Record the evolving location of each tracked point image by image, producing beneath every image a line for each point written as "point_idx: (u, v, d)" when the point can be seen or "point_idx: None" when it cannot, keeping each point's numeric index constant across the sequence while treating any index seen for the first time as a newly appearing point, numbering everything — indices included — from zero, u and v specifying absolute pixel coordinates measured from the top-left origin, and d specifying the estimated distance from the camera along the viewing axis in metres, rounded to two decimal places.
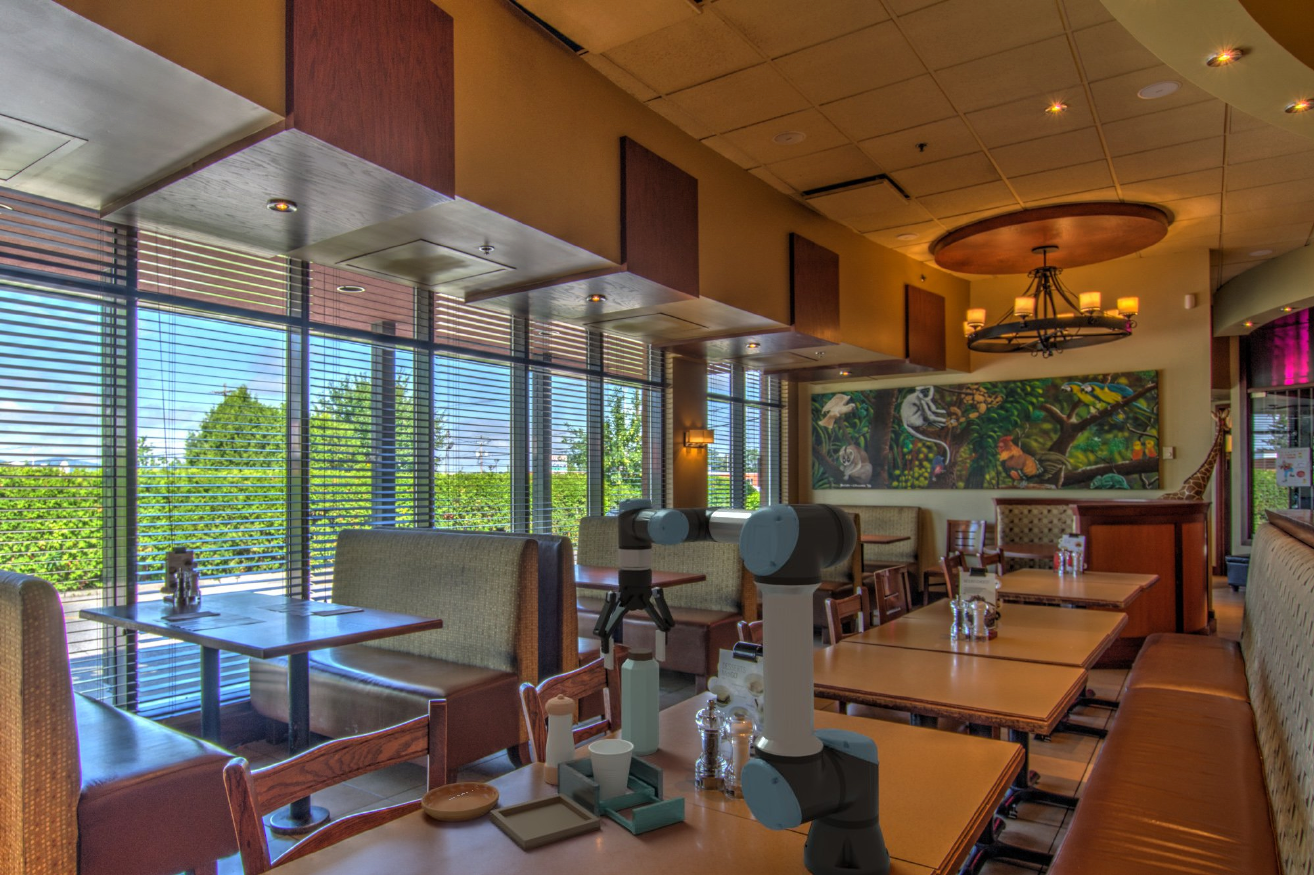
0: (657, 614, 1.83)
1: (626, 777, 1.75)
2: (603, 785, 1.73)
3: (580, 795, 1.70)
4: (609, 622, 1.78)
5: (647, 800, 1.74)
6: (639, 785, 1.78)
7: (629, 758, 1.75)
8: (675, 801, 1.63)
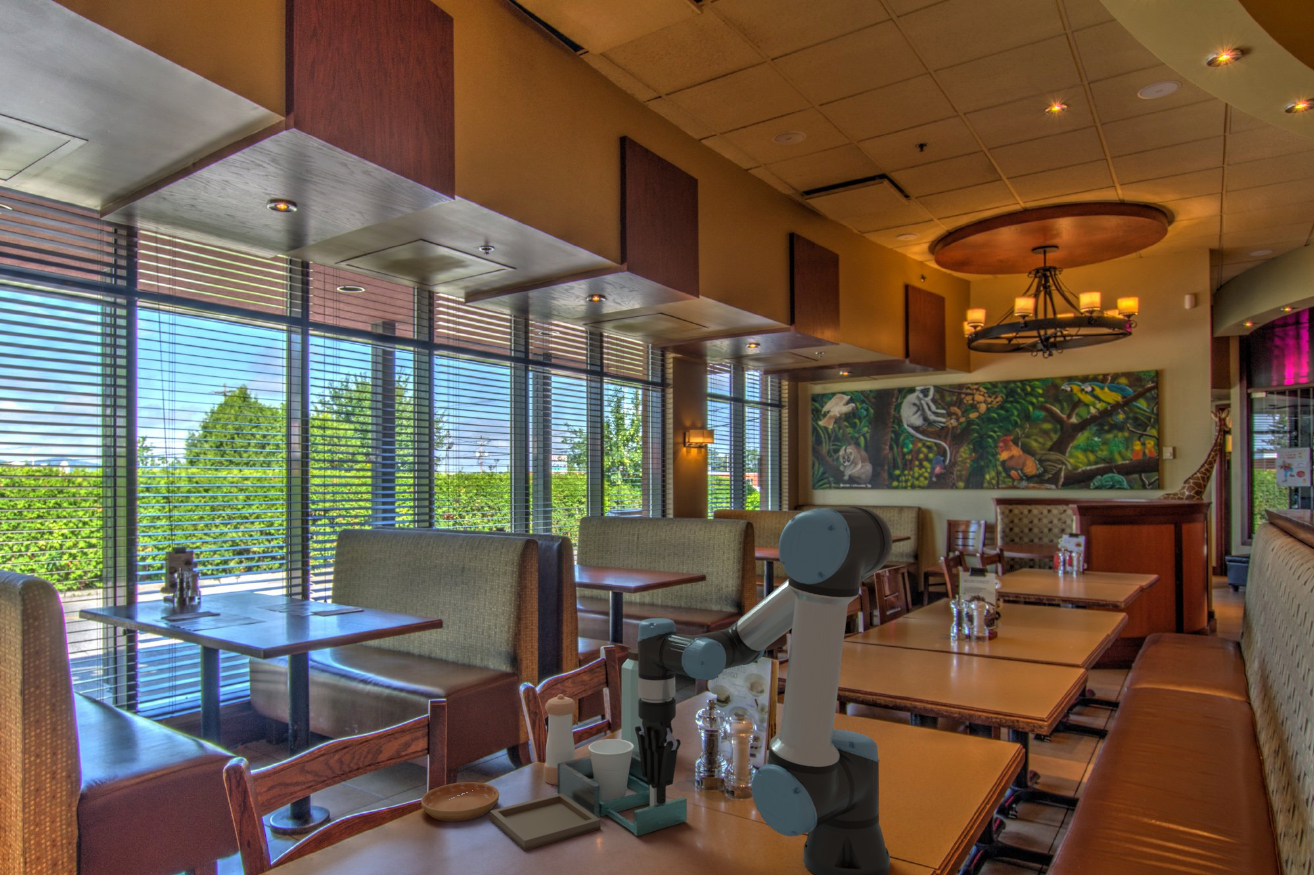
0: (656, 762, 1.61)
1: (626, 777, 1.75)
2: (603, 785, 1.73)
3: (580, 795, 1.70)
4: None
5: (649, 801, 1.73)
6: (641, 786, 1.78)
7: (629, 758, 1.75)
8: (677, 802, 1.63)
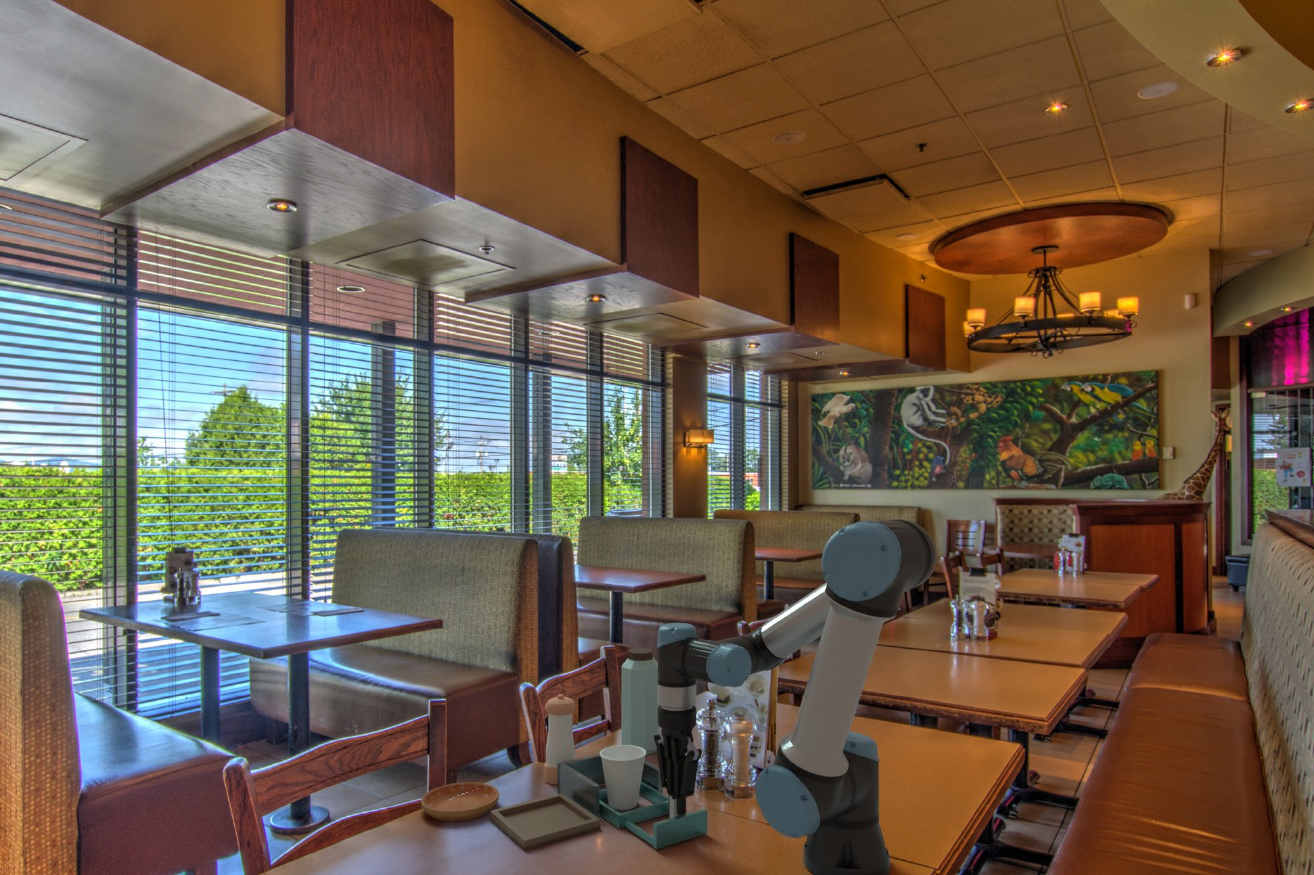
0: (676, 773, 1.55)
1: (639, 784, 1.71)
2: (615, 793, 1.69)
3: (580, 795, 1.70)
4: None
5: (667, 812, 1.67)
6: (658, 796, 1.72)
7: (642, 764, 1.71)
8: (698, 814, 1.57)
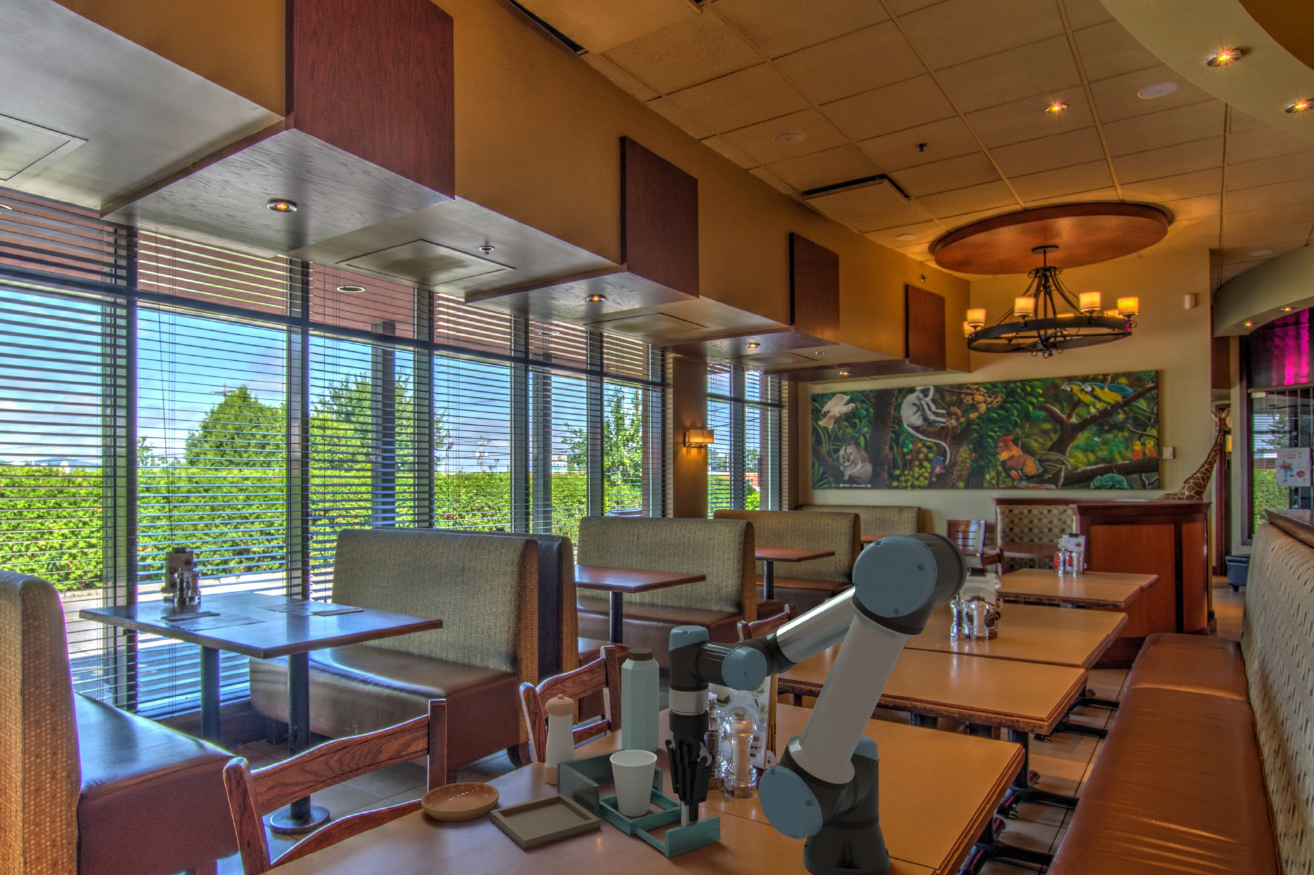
0: (689, 778, 1.52)
1: (650, 790, 1.68)
2: (626, 799, 1.66)
3: (580, 795, 1.70)
4: None
5: (678, 818, 1.64)
6: (669, 802, 1.69)
7: (653, 770, 1.68)
8: (710, 821, 1.54)
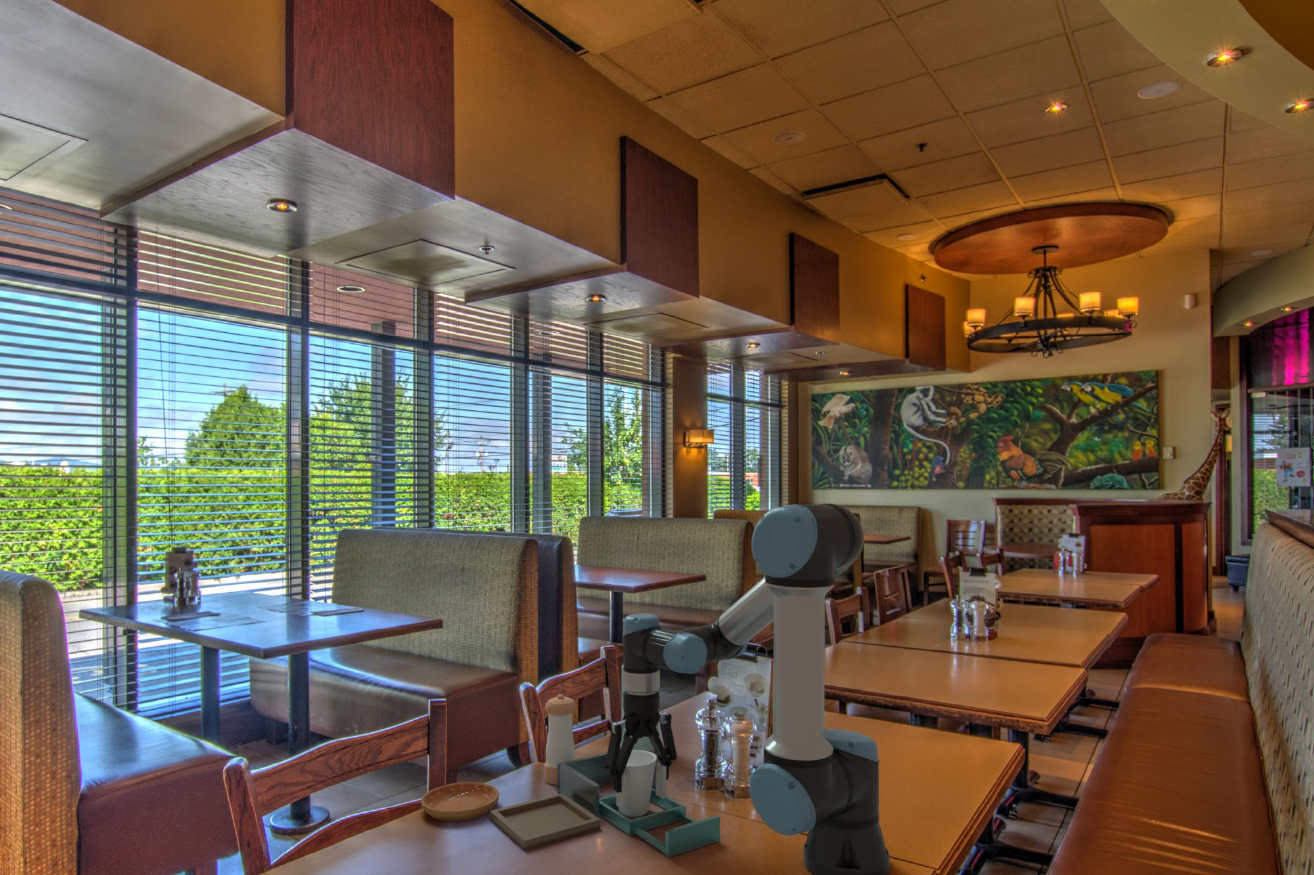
0: (661, 744, 1.69)
1: (650, 790, 1.68)
2: (626, 799, 1.66)
3: (580, 795, 1.70)
4: (619, 756, 1.65)
5: (678, 818, 1.64)
6: (669, 802, 1.69)
7: (653, 770, 1.68)
8: (710, 821, 1.54)
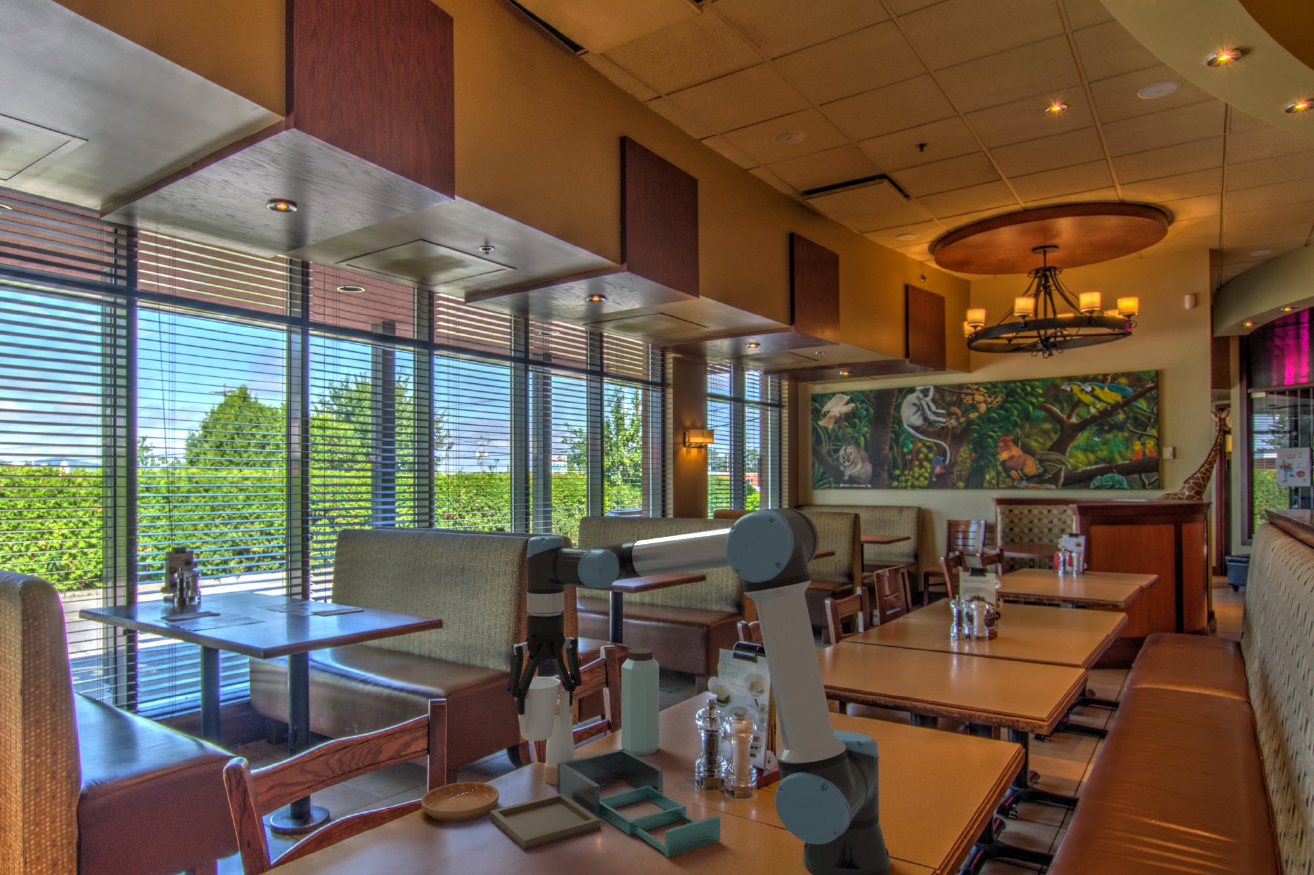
0: (565, 669, 1.66)
1: (552, 714, 1.65)
2: None
3: (580, 795, 1.70)
4: (522, 679, 1.62)
5: (678, 818, 1.64)
6: (669, 802, 1.69)
7: (555, 694, 1.65)
8: (710, 821, 1.54)
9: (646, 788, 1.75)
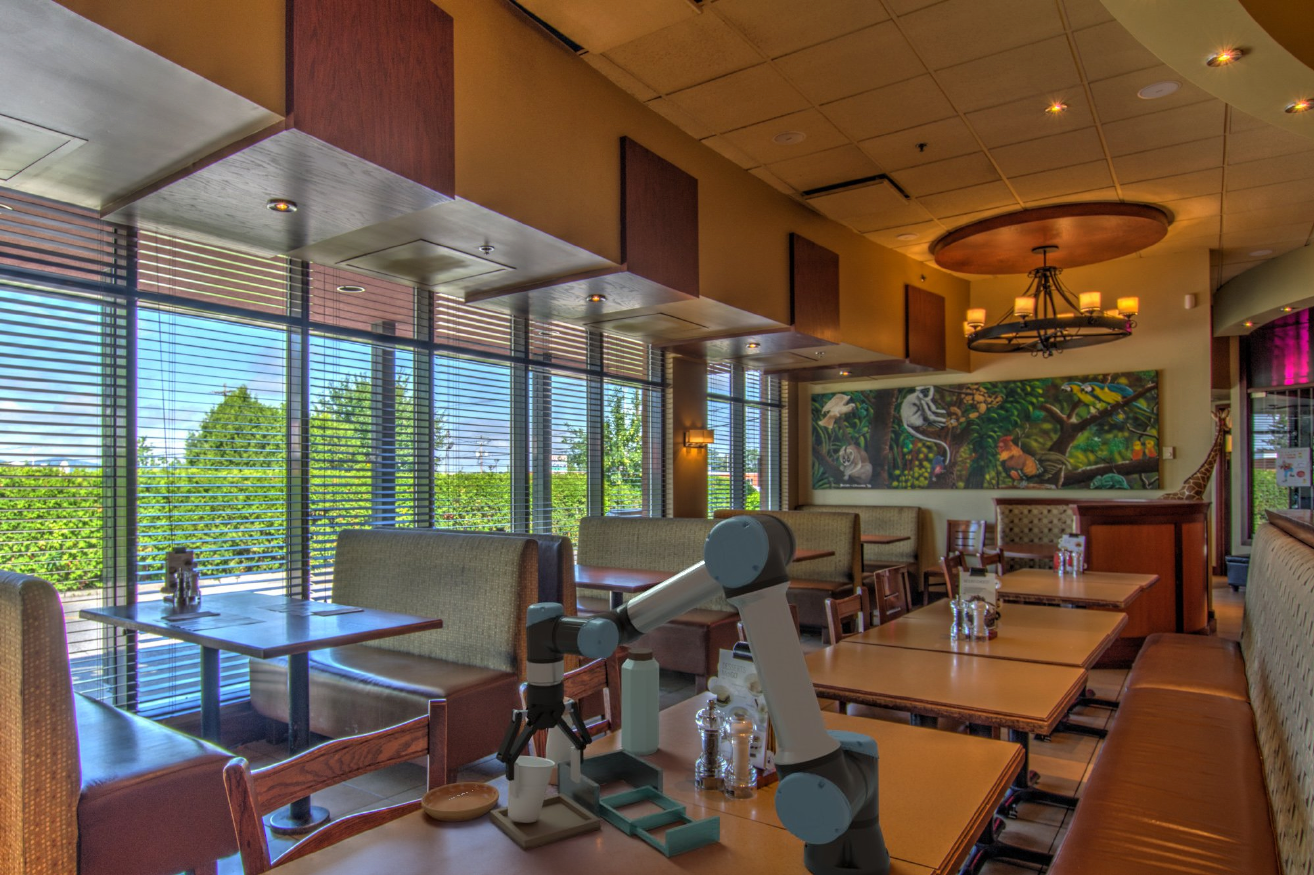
0: (571, 731, 1.66)
1: (542, 796, 1.62)
2: (516, 802, 1.60)
3: (580, 795, 1.70)
4: (515, 744, 1.60)
5: (678, 818, 1.64)
6: (669, 802, 1.69)
7: (548, 775, 1.63)
8: (710, 821, 1.54)
9: (646, 788, 1.75)
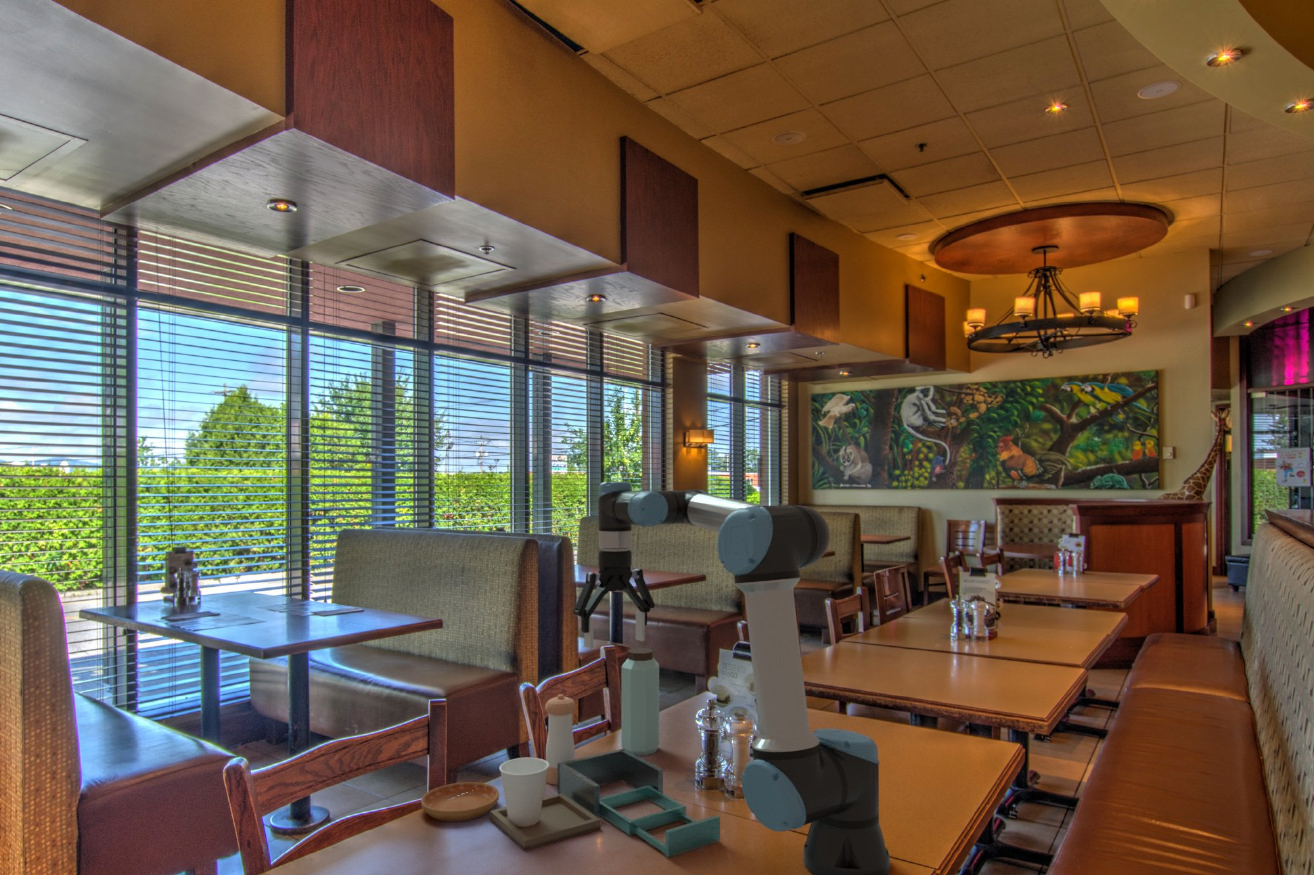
0: (637, 595, 1.87)
1: (540, 799, 1.62)
2: (514, 809, 1.60)
3: (580, 795, 1.70)
4: (589, 602, 1.82)
5: (678, 818, 1.64)
6: (669, 802, 1.69)
7: (543, 778, 1.62)
8: (710, 821, 1.54)
9: (646, 788, 1.75)
